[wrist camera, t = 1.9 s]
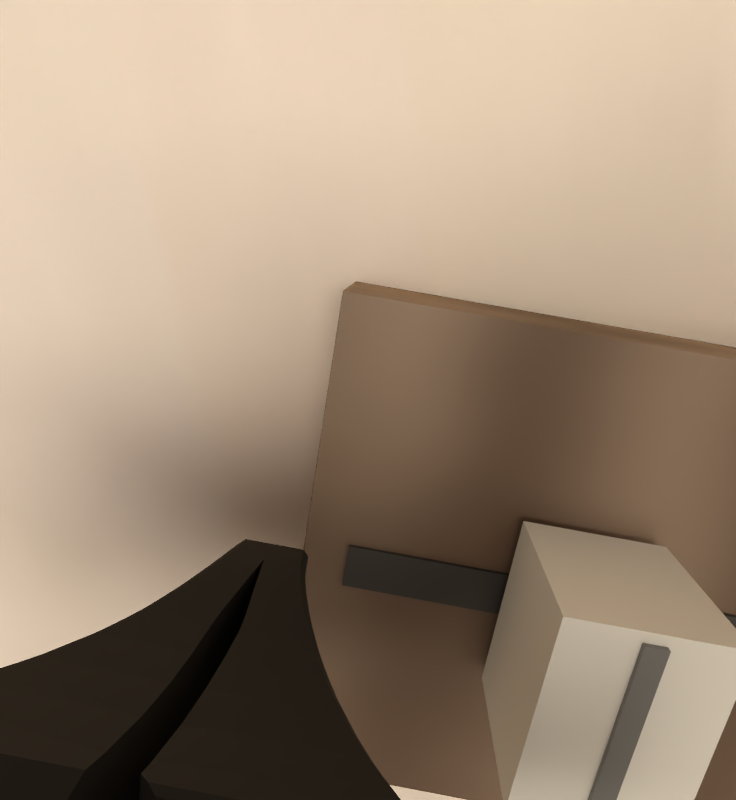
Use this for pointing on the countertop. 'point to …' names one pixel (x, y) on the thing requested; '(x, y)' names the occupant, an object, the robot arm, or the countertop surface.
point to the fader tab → (605, 671)
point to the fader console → (495, 502)
